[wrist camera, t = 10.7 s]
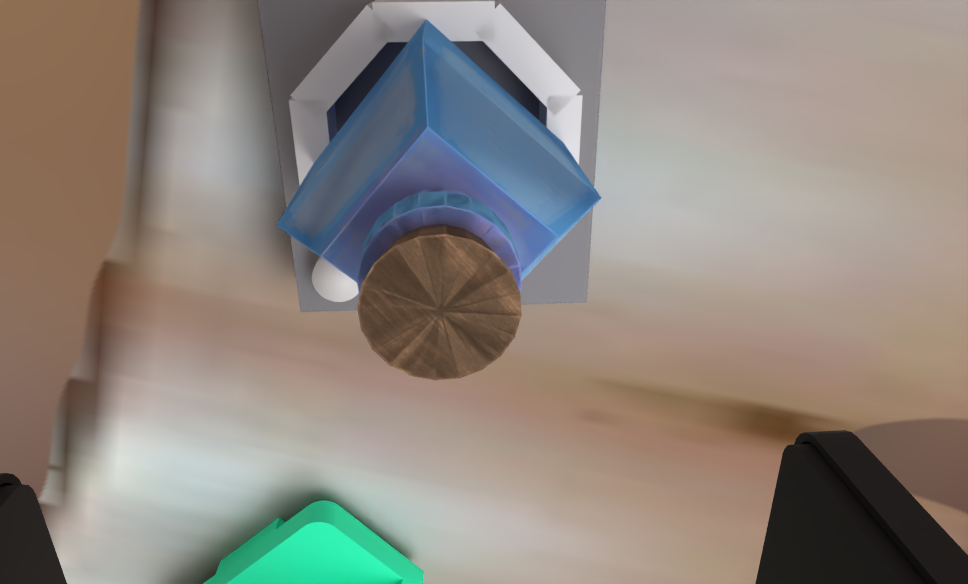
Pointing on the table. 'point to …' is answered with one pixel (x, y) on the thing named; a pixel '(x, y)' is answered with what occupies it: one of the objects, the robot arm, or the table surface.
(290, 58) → the camera body block
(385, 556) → the camera mount
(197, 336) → the table surface
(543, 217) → the perfume bottle
